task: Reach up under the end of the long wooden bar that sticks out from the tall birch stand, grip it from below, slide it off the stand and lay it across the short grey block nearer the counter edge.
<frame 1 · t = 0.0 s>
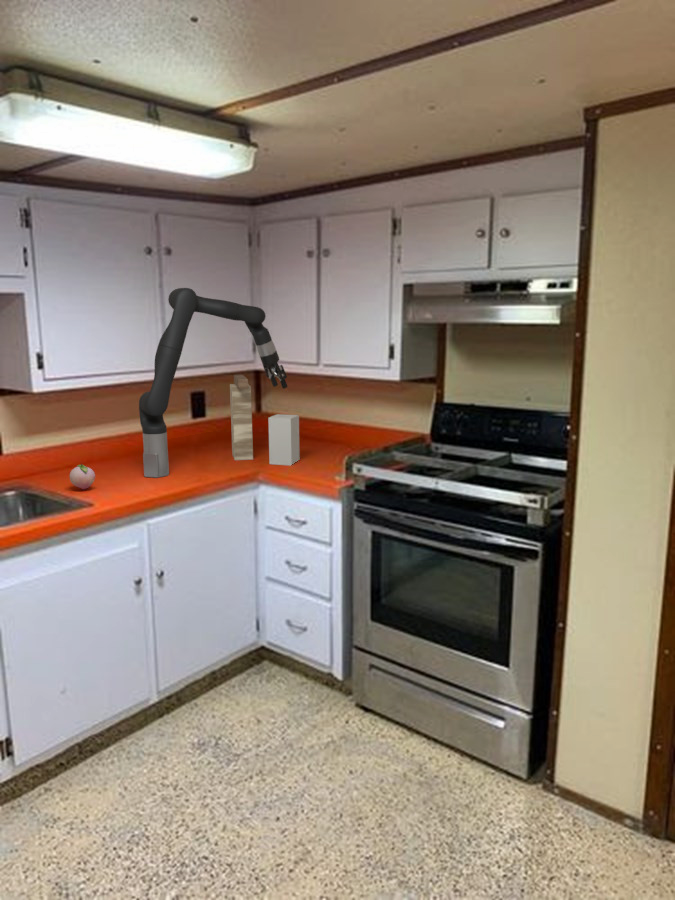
hand: (280, 386, 299), 31 cm above the countertop, tool tilted 20°, fingers open, 8 cm apart
short block: (284, 462, 296), on the countertop
long wooden bar: (240, 386, 297), point 32 cm above the countertop, touching tall stand
decorative fruit: (83, 490, 252), on the countertop
tall stand: (242, 457, 307), on the countertop
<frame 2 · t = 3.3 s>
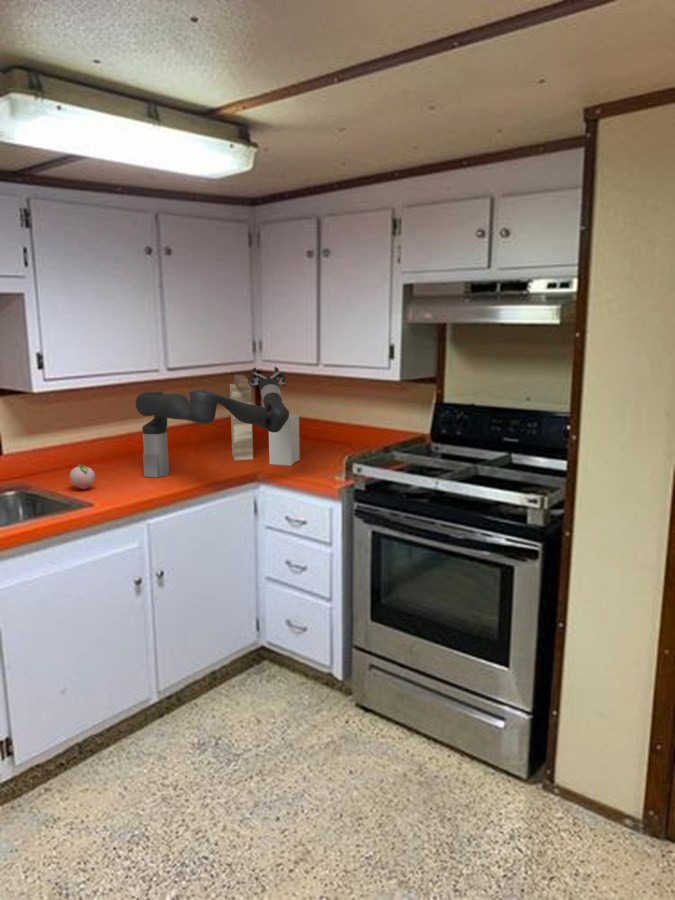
hand: (265, 369, 280), 41 cm above the countertop, tool pointing upward, fingers open, 8 cm apart
nothing on the countertop moved.
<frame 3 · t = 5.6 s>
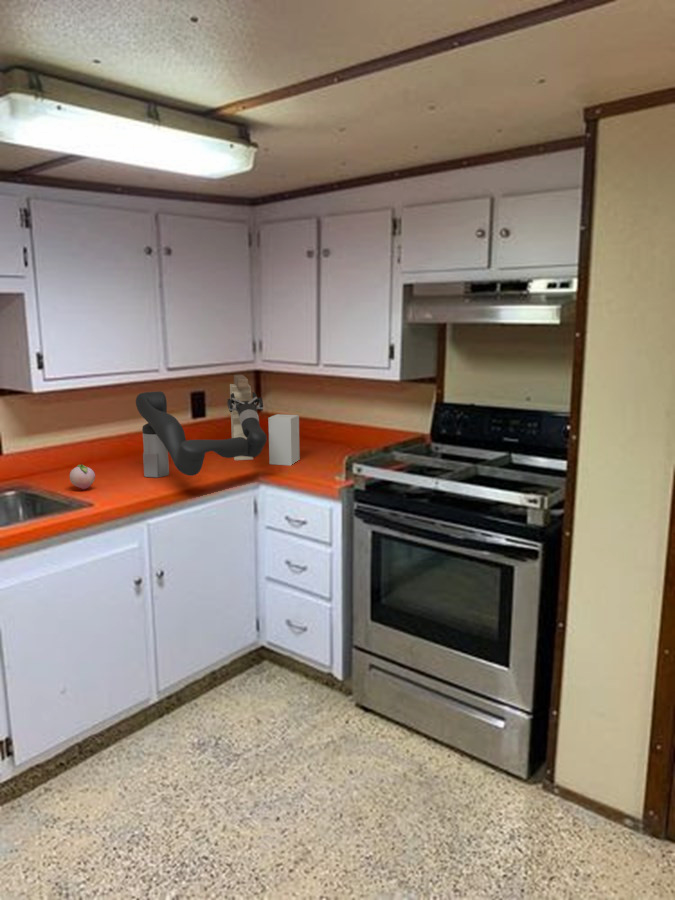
hand: (243, 394, 287), 30 cm above the countertop, tool pointing upward, fingers open, 8 cm apart
nothing on the countertop moved.
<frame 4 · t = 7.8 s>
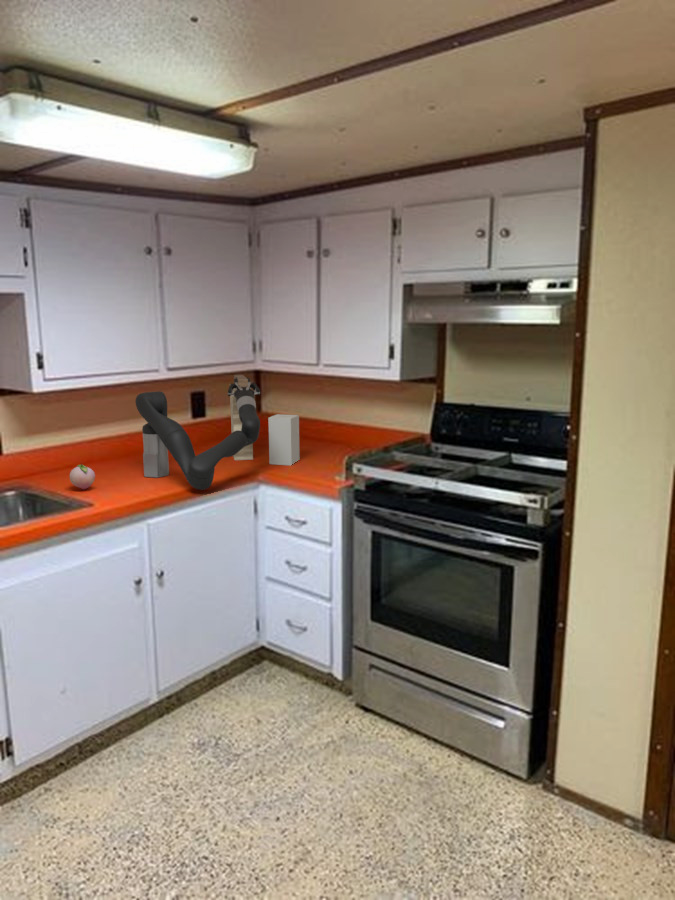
hand: (241, 379, 292), 35 cm above the countertop, tool pointing upward, fingers closed on long wooden bar, 4 cm apart
long wooden bar: (240, 386, 297), point 32 cm above the countertop, touching gripper, tall stand
everything else where it was.
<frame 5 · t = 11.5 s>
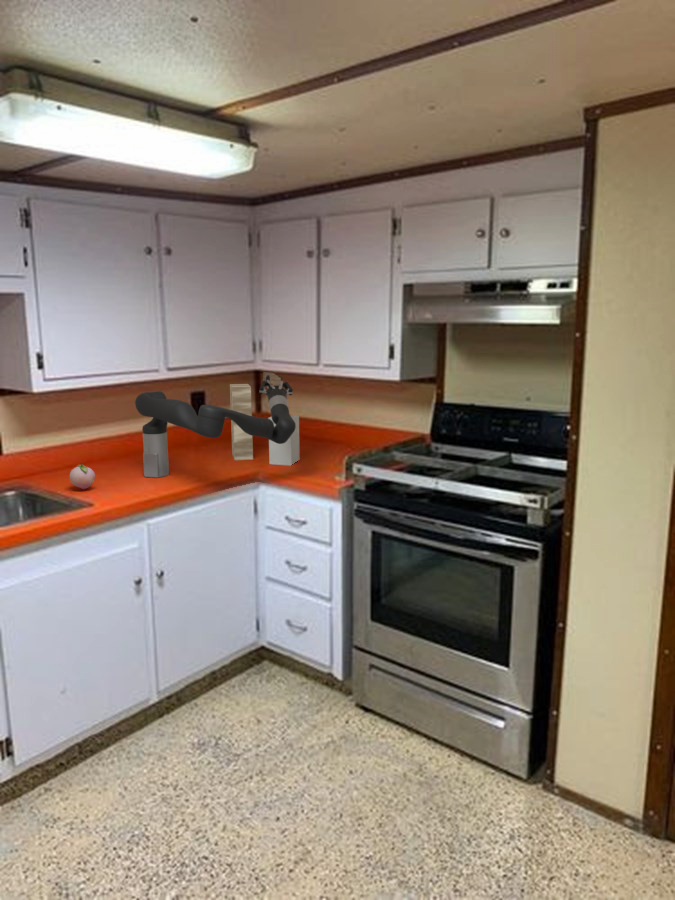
hand: (273, 377, 283), 37 cm above the countertop, tool pointing upward, fingers closed on long wooden bar, 4 cm apart
long wooden bar: (271, 384, 288), point 34 cm above the countertop, touching gripper
everything else where it was.
when the fingers open (25 cm above the countertop, at t = 15.1 s): long wooden bar drops 2 cm, resting on short block.
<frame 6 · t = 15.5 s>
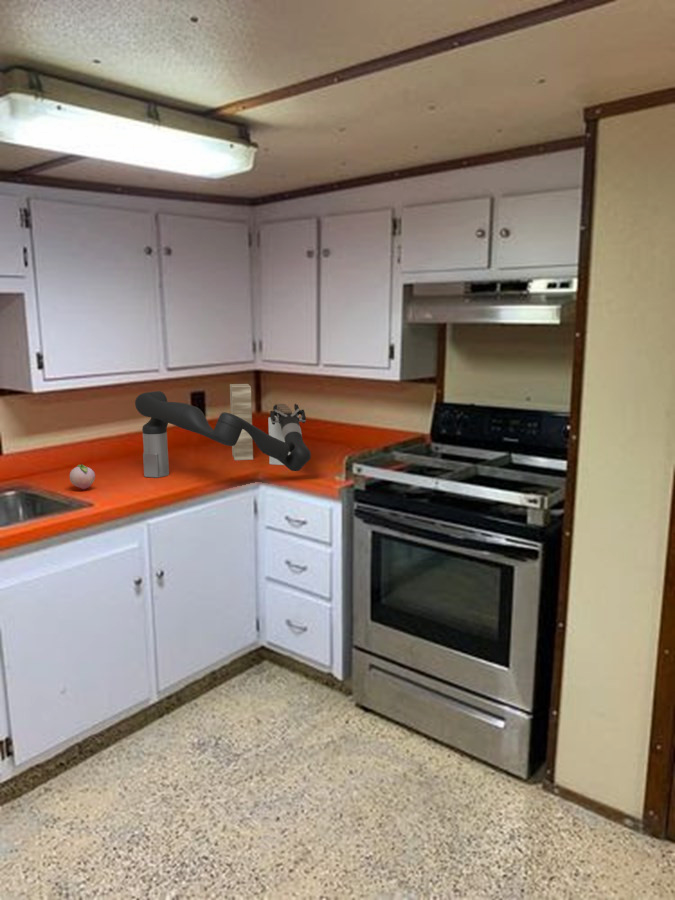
hand: (285, 405, 286), 25 cm above the countertop, tool pointing upward, fingers open, 8 cm apart
long wooden bar: (283, 416, 292), point 20 cm above the countertop, touching short block
everything else where it was.
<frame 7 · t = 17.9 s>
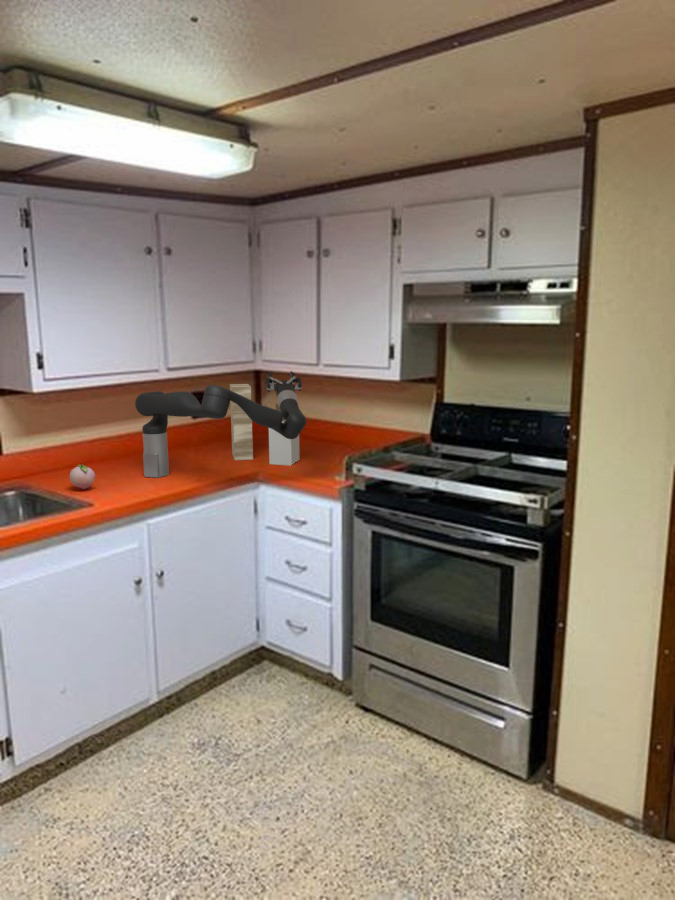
hand: (280, 373, 278), 39 cm above the countertop, tool pointing upward, fingers open, 8 cm apart
nothing on the countertop moved.
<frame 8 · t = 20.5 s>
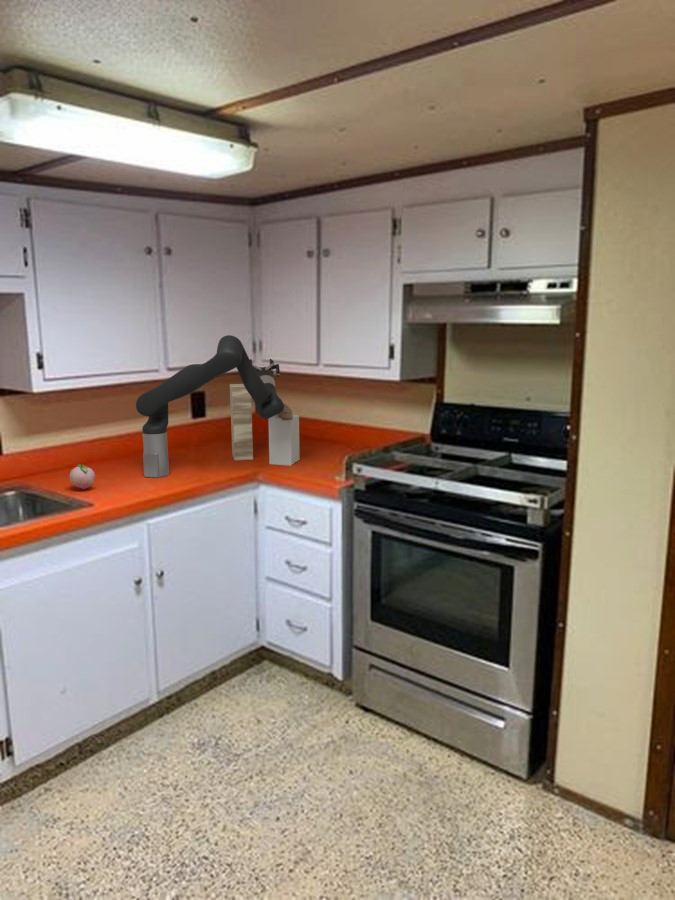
hand: (260, 360, 294), 43 cm above the countertop, tool pointing upward, fingers open, 8 cm apart
nothing on the countertop moved.
at the end: long wooden bar inside the target area on the short block (0.1 cm from its centre), point 20.0 cm above the short block's base; long wooden bar tilted 0°; the gripper is holding nothing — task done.
